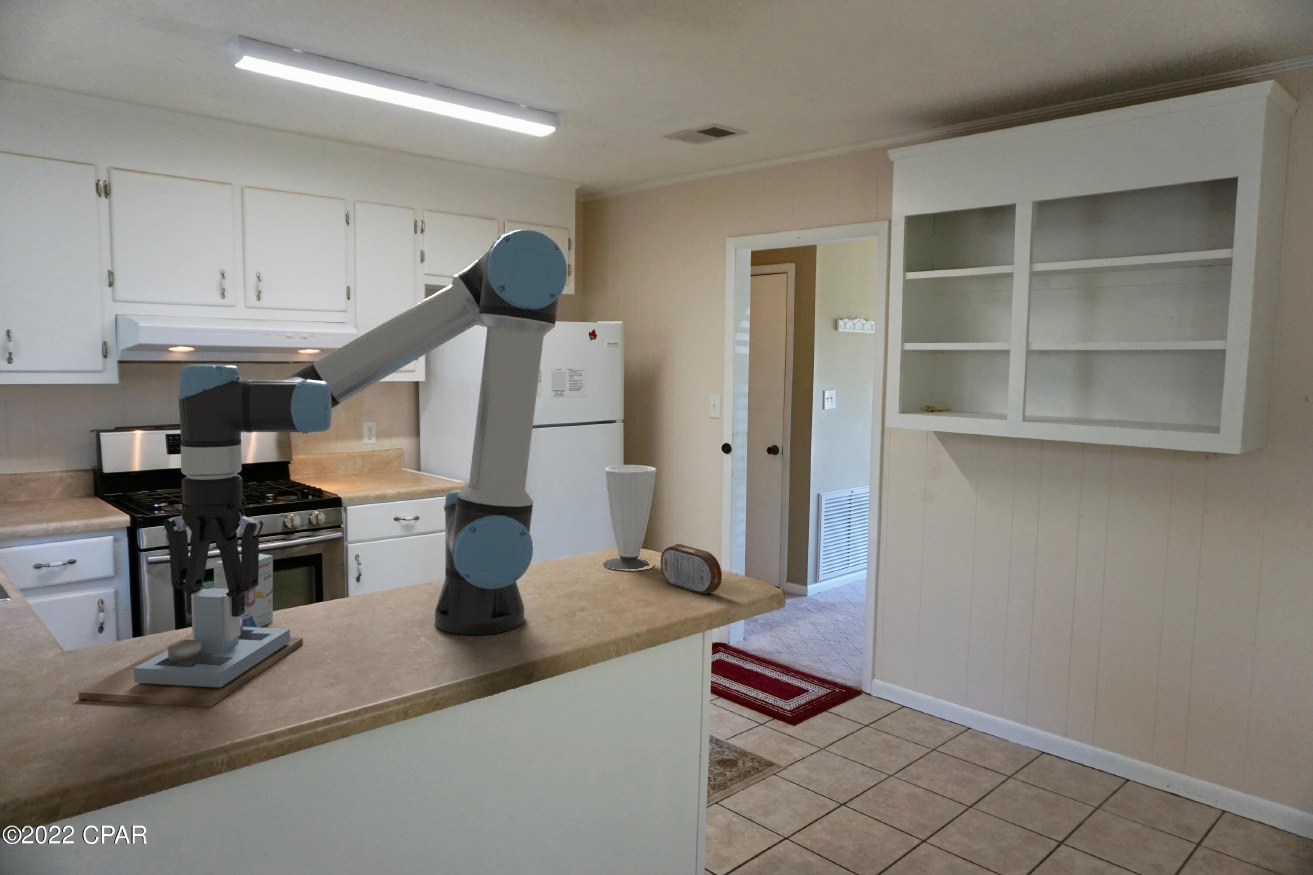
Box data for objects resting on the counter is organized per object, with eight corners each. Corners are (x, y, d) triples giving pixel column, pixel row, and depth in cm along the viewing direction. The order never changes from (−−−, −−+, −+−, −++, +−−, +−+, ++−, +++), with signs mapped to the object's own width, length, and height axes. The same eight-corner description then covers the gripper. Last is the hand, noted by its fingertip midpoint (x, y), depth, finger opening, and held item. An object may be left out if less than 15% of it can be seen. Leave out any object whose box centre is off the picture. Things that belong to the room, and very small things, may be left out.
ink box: (240, 637, 135) (238, 565, 134) (213, 635, 136) (211, 563, 135) (275, 621, 143) (273, 553, 142) (249, 618, 144) (247, 550, 143)
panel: (290, 641, 130) (288, 577, 129) (220, 687, 112) (218, 613, 111) (215, 637, 131) (213, 574, 130) (134, 682, 113) (131, 609, 112)
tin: (722, 596, 164) (723, 553, 164) (711, 599, 162) (712, 556, 161) (668, 580, 175) (669, 540, 174) (657, 582, 173) (658, 542, 172)
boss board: (302, 643, 133) (302, 609, 132) (210, 707, 109) (209, 665, 108) (193, 638, 134) (192, 604, 133) (78, 699, 110) (76, 658, 110)
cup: (661, 569, 183) (664, 471, 181) (610, 573, 179) (612, 472, 177) (645, 557, 194) (648, 464, 192) (597, 560, 190) (598, 465, 188)
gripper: (284, 473, 121) (287, 631, 124) (171, 469, 123) (176, 625, 125) (256, 481, 114) (259, 648, 116) (135, 476, 115) (142, 642, 118)
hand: (216, 636), depth 121 cm, fingers closed on panel, 4 cm apart
